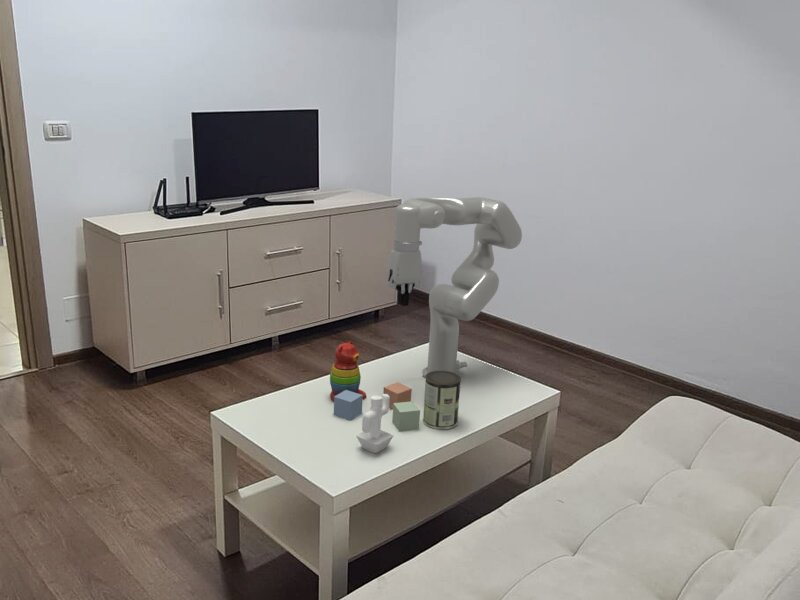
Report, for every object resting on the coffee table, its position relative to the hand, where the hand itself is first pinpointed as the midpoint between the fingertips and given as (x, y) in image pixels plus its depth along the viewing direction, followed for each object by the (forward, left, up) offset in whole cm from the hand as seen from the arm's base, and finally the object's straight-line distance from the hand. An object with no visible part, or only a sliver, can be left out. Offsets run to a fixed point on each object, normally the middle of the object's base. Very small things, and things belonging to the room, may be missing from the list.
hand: (403, 304), depth 226 cm
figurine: (+26, +27, -29) cm, 47 cm away
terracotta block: (+6, +8, -29) cm, 31 cm away
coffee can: (+1, +23, -29) cm, 37 cm away
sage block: (+11, +20, -29) cm, 37 cm away
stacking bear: (+17, -4, -29) cm, 34 cm away
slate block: (+22, +6, -29) cm, 37 cm away
